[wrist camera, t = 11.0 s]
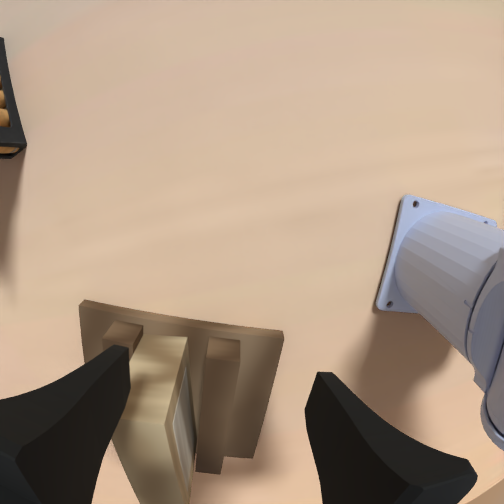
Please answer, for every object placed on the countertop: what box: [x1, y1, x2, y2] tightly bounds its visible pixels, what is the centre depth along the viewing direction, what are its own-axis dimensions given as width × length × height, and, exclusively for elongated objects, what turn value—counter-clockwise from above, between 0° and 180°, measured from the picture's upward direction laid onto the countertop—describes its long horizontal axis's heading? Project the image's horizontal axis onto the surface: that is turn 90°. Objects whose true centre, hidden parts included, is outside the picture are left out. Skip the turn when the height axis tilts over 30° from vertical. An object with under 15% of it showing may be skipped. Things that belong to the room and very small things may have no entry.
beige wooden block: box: [111, 334, 197, 504], centre depth 17 cm, size 3×10×8 cm, turn 178°
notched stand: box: [79, 300, 284, 474], centre depth 21 cm, size 14×13×4 cm
